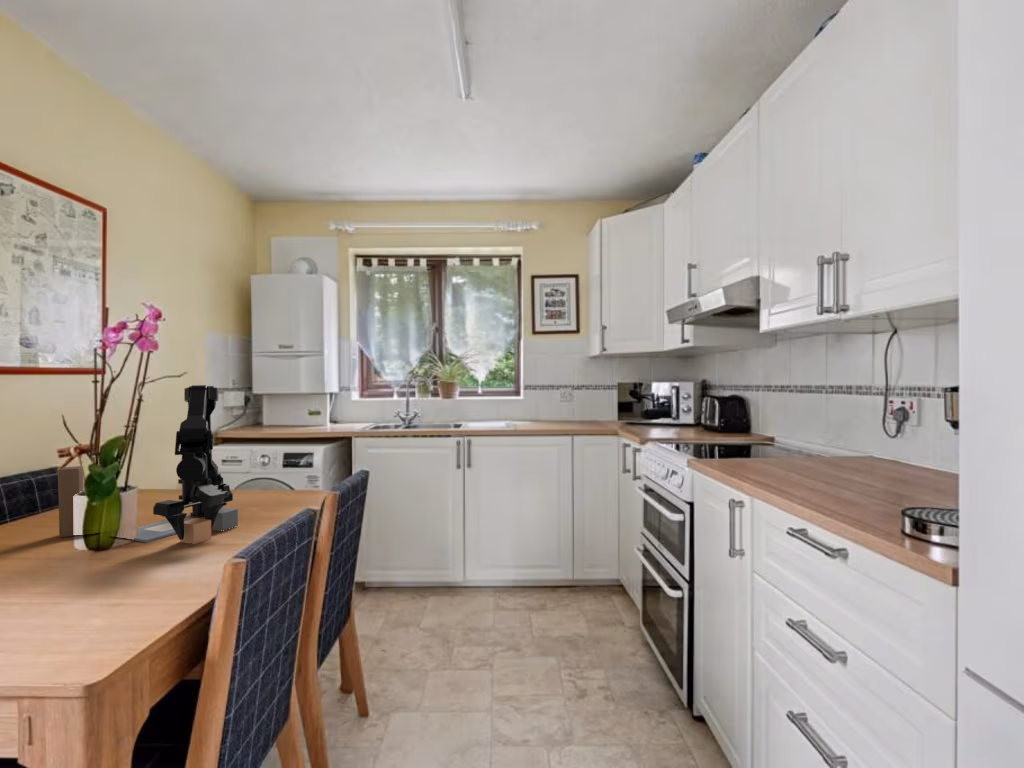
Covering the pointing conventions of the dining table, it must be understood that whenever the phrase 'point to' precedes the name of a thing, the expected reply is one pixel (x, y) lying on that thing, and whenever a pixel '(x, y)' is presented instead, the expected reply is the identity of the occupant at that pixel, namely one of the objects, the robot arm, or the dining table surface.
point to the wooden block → (68, 497)
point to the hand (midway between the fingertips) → (195, 535)
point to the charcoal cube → (226, 519)
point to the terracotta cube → (196, 530)
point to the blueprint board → (156, 531)
